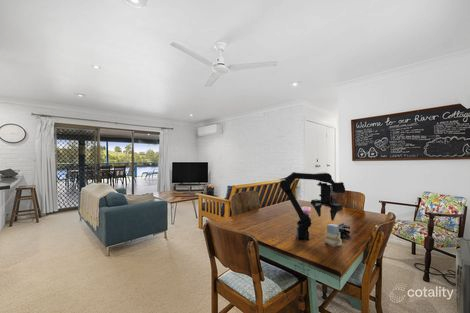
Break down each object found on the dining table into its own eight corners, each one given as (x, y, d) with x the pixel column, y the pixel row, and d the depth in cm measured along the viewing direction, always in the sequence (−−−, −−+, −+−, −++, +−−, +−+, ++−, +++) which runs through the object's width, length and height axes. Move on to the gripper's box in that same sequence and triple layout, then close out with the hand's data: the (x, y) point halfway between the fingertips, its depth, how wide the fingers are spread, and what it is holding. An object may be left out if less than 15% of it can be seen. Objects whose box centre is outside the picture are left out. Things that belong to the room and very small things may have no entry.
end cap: (339, 232, 133) (339, 222, 134) (350, 235, 128) (350, 224, 128) (331, 236, 128) (331, 225, 128) (343, 239, 122) (342, 228, 122)
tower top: (335, 241, 112) (335, 234, 112) (325, 238, 117) (325, 232, 117) (340, 238, 115) (340, 232, 115) (330, 235, 120) (330, 229, 120)
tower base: (333, 247, 112) (333, 241, 112) (325, 243, 118) (325, 237, 118) (341, 245, 114) (341, 239, 114) (333, 241, 120) (333, 235, 120)
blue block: (334, 234, 113) (333, 227, 113) (327, 231, 117) (326, 225, 117) (339, 233, 115) (339, 226, 115) (332, 230, 119) (332, 223, 119)
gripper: (348, 194, 117) (348, 220, 117) (321, 189, 134) (322, 213, 134) (336, 196, 112) (336, 223, 112) (310, 191, 129) (310, 215, 129)
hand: (325, 218), depth 122 cm, fingers open, 9 cm apart
